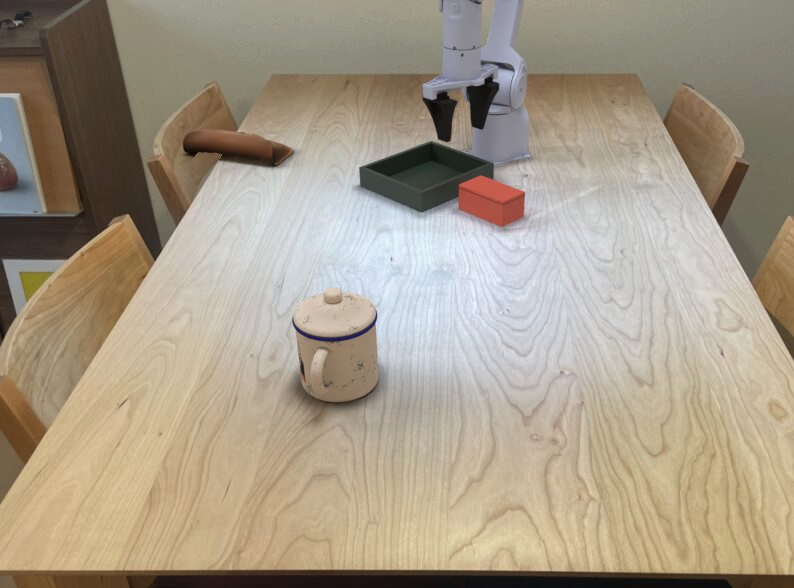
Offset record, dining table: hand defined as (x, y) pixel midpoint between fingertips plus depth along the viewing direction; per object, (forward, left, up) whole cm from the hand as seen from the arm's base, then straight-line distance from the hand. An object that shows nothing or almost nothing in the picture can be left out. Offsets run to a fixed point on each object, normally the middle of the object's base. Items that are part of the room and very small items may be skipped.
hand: (461, 134), depth 137 cm
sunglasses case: (+25, -34, -10) cm, 43 cm away
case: (+1, +11, -9) cm, 14 cm away
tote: (+4, -4, -9) cm, 11 cm away
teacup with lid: (+40, +39, -10) cm, 57 cm away
